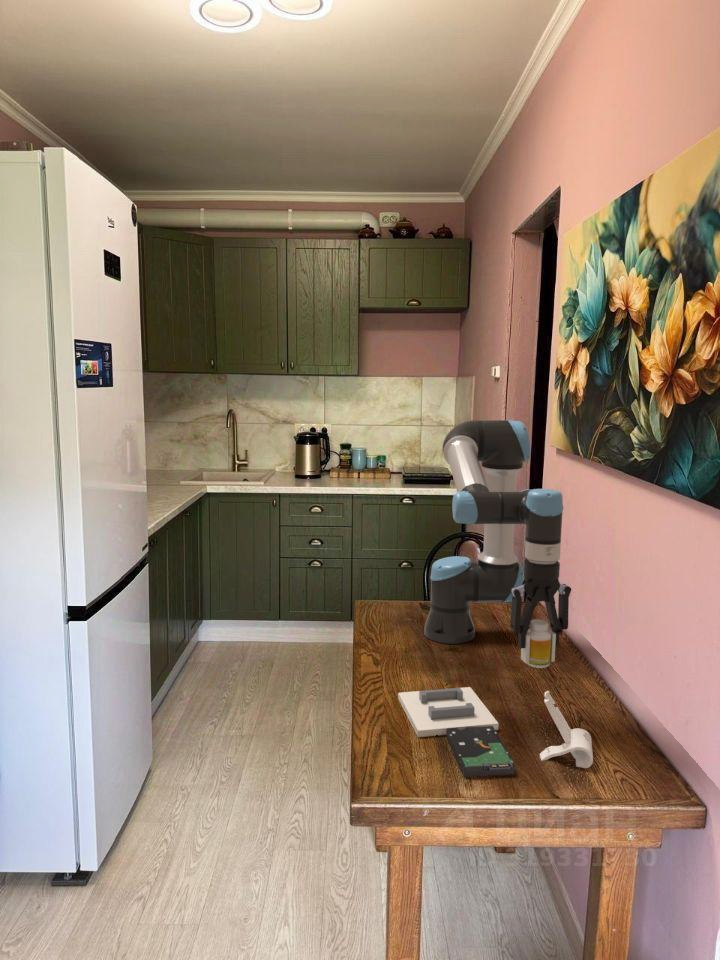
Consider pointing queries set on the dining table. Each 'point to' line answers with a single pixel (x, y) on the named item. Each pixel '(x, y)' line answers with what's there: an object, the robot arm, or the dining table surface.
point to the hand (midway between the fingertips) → (537, 659)
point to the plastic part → (568, 739)
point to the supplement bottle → (539, 644)
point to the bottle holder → (445, 710)
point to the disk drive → (479, 751)
